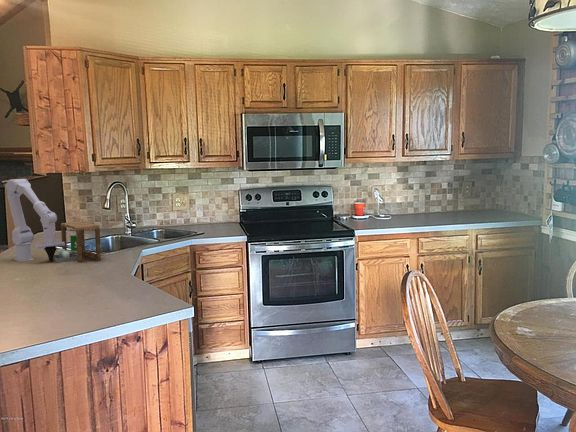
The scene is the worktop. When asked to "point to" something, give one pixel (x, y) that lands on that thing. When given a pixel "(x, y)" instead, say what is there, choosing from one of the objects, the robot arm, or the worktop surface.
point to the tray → (71, 258)
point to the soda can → (73, 242)
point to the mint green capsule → (65, 254)
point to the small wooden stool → (82, 239)
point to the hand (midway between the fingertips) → (51, 260)
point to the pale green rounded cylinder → (60, 253)
